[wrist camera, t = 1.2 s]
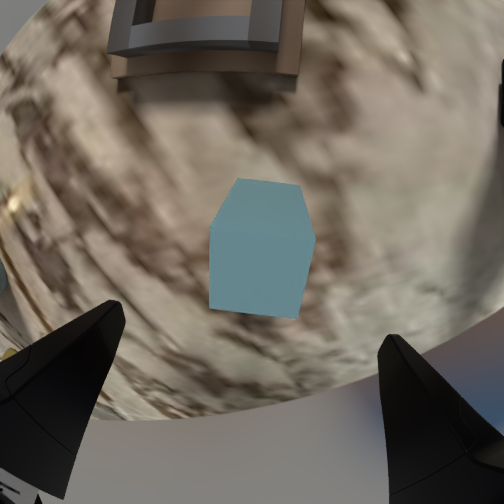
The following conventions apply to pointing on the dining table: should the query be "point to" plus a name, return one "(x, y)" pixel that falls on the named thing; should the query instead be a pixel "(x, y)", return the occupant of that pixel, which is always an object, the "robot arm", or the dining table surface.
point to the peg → (260, 250)
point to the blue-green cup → (2, 278)
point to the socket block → (205, 36)
